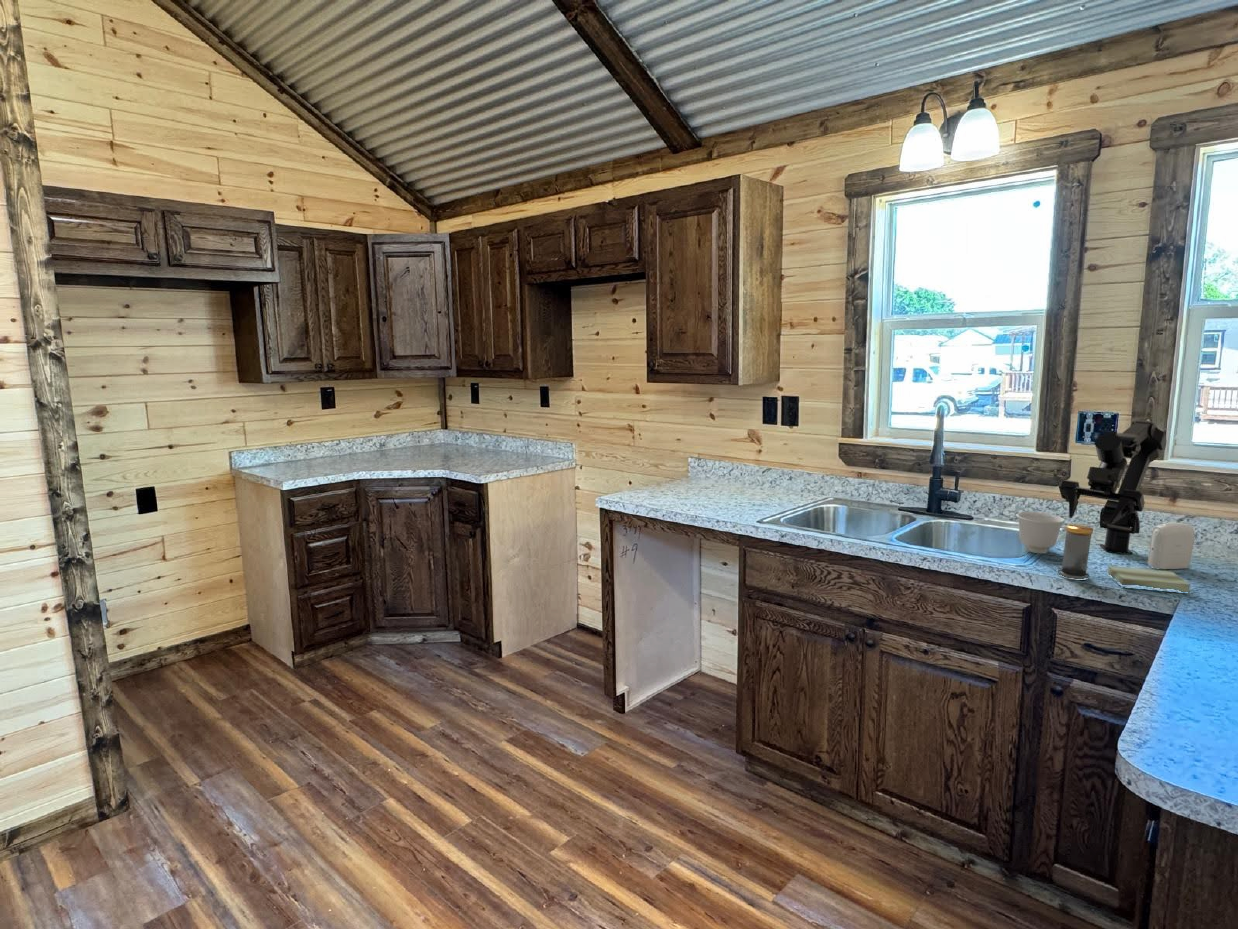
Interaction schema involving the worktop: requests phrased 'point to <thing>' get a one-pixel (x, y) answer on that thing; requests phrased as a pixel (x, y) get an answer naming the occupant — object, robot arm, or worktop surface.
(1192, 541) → the photo printer
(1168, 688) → the worktop surface
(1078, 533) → the cylinder
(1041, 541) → the teacup
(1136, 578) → the stand
